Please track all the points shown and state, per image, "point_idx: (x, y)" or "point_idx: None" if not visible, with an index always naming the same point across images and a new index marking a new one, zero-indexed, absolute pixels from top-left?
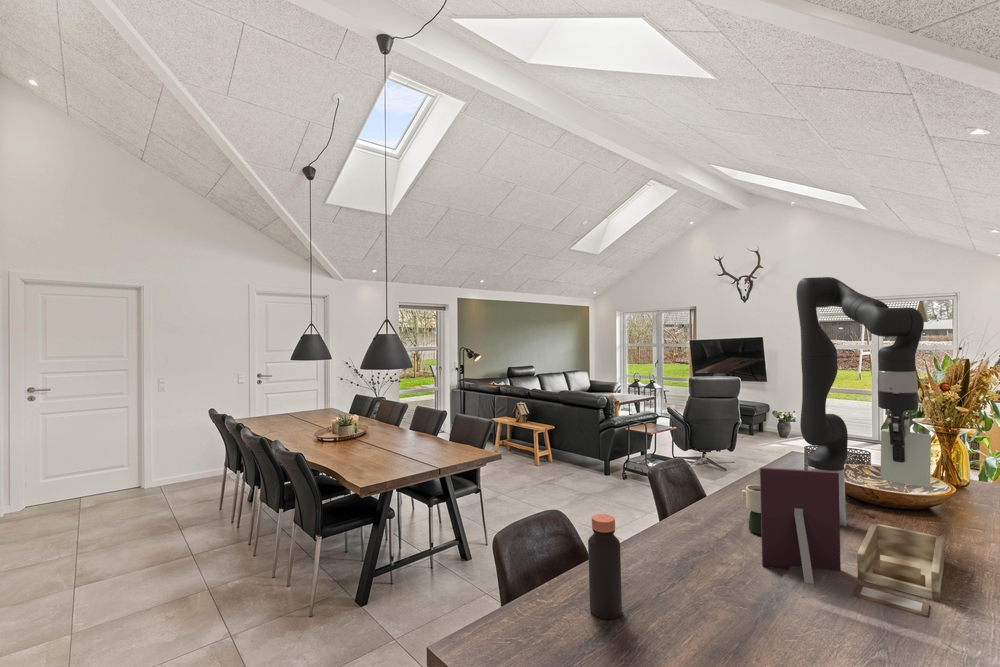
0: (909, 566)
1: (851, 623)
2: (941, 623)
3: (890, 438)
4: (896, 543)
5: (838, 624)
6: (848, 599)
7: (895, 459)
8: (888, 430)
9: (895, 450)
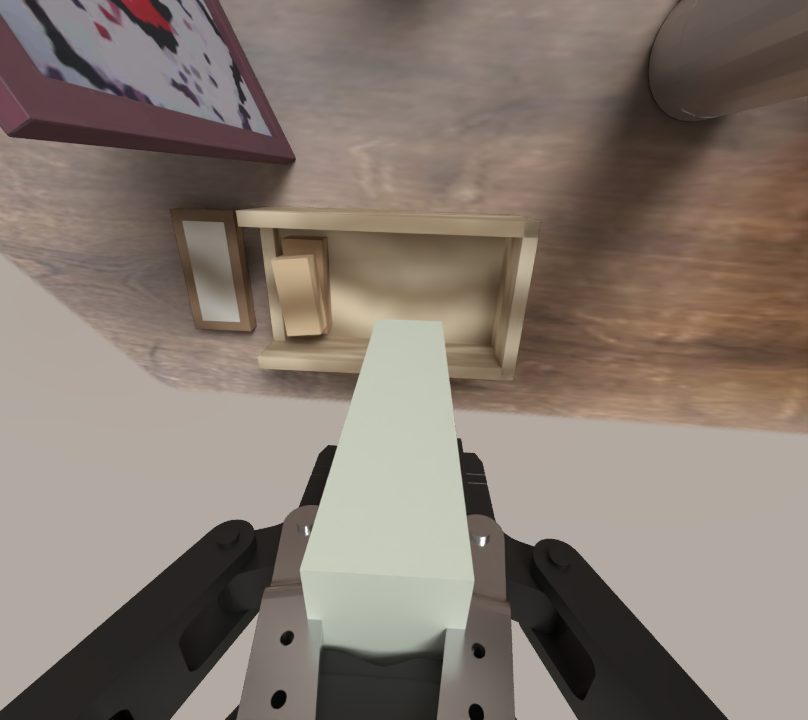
0: (283, 316)
1: (83, 214)
2: (222, 340)
3: (159, 578)
4: (506, 276)
5: (56, 194)
6: (178, 197)
7: (325, 449)
8: (389, 616)
9: (306, 497)
